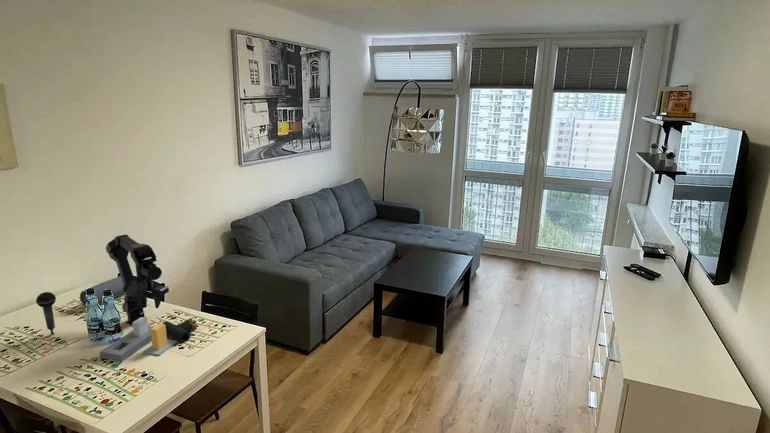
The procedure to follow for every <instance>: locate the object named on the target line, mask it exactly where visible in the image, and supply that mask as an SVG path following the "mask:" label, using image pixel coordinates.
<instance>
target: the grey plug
mask: <svg viewBox="0 0 770 433" xmlns="http://www.w3.org/2000/svg"><path fill="white" fill-rule="evenodd" d="M131 325H132V331H134V336H139V337H140V336H142V335H143V334H145V333H146V332H148V331H149V329H148V326H149V322H148V317H146V318H143V317H141V318H139V319H137V320H136V321H134V322H132V324H131Z"/></svg>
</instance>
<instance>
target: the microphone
mask: <svg viewBox="0 0 770 433" xmlns="http://www.w3.org/2000/svg"><path fill="white" fill-rule="evenodd" d="M56 300H57V296H56V295H55V294H54V293H52V292H50V291H43V292H42V293H40V294H39V295H38V296H37V297H36V300H35V303H36V304H37V306H39V307H40V308H42V310H43V314H44V320H45V324H46V327H47V328H46V329H47V330H49V331H50V335H51V336H54V335H55V332H54V330H55V328H56V325H55V316H54V311H53V310H54V309H53V305H54V304H55V303H56Z"/></svg>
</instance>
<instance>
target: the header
mask: <svg viewBox="0 0 770 433" xmlns="http://www.w3.org/2000/svg"><path fill="white" fill-rule="evenodd" d="M153 327H154V326H150V325H148V329H149V331H148V332H146V333H145V334H143V335H142V336H140V337H139V336H134V331H133V330H131V331H130V332H128V333H127V334H124V336H121V337H120V338H119V339H117V340H116V341H114V342H112V343H110V344H109V345H108V346H106V347H105V348H103V349H101V350H100V351H99V355H100V359H103V360H108V361H109V360H110V361H115V362H118V363H119V362H123V361H126V360H127V359H128V358H130V357H131V356H133V354H136V353H137V352H138V351H140V350H142V348H144V347H145V346H147V345H148V344H150V343H152V338H151V330H150V329H151V328H153Z"/></svg>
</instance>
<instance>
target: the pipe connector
mask: <svg viewBox="0 0 770 433" xmlns="http://www.w3.org/2000/svg"><path fill="white" fill-rule="evenodd" d="M161 324H165V326H166V335H167V337H171V338H172V339H173V340H176V341H178V342H179V343H181V344H185V343H186V342H188V341H189V340H190V338H191V333H192V332H193V331H196V330H197V329H198V327H197V325H196V324H197V321H196V320H195V319H193V318H190V317H189V318H188V319H186V320H184V321H182V322H180V323H178V324H174V323H173V322H171V321H168V320H167V321H164V322H162V323H161Z"/></svg>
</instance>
